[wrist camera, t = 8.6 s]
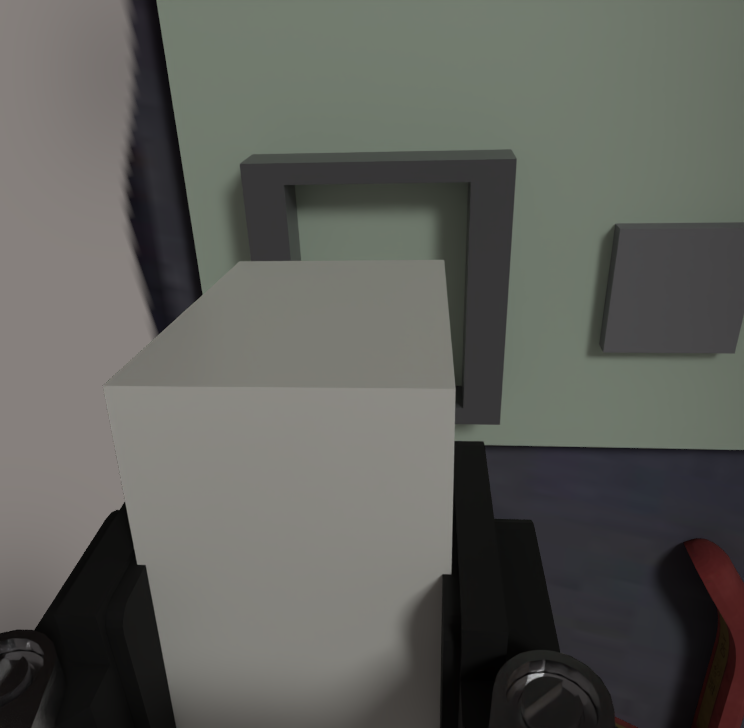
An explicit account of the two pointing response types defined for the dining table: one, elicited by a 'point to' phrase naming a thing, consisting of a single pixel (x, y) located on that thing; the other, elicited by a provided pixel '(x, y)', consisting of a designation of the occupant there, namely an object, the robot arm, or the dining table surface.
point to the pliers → (719, 640)
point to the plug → (296, 493)
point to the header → (483, 238)
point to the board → (532, 185)
